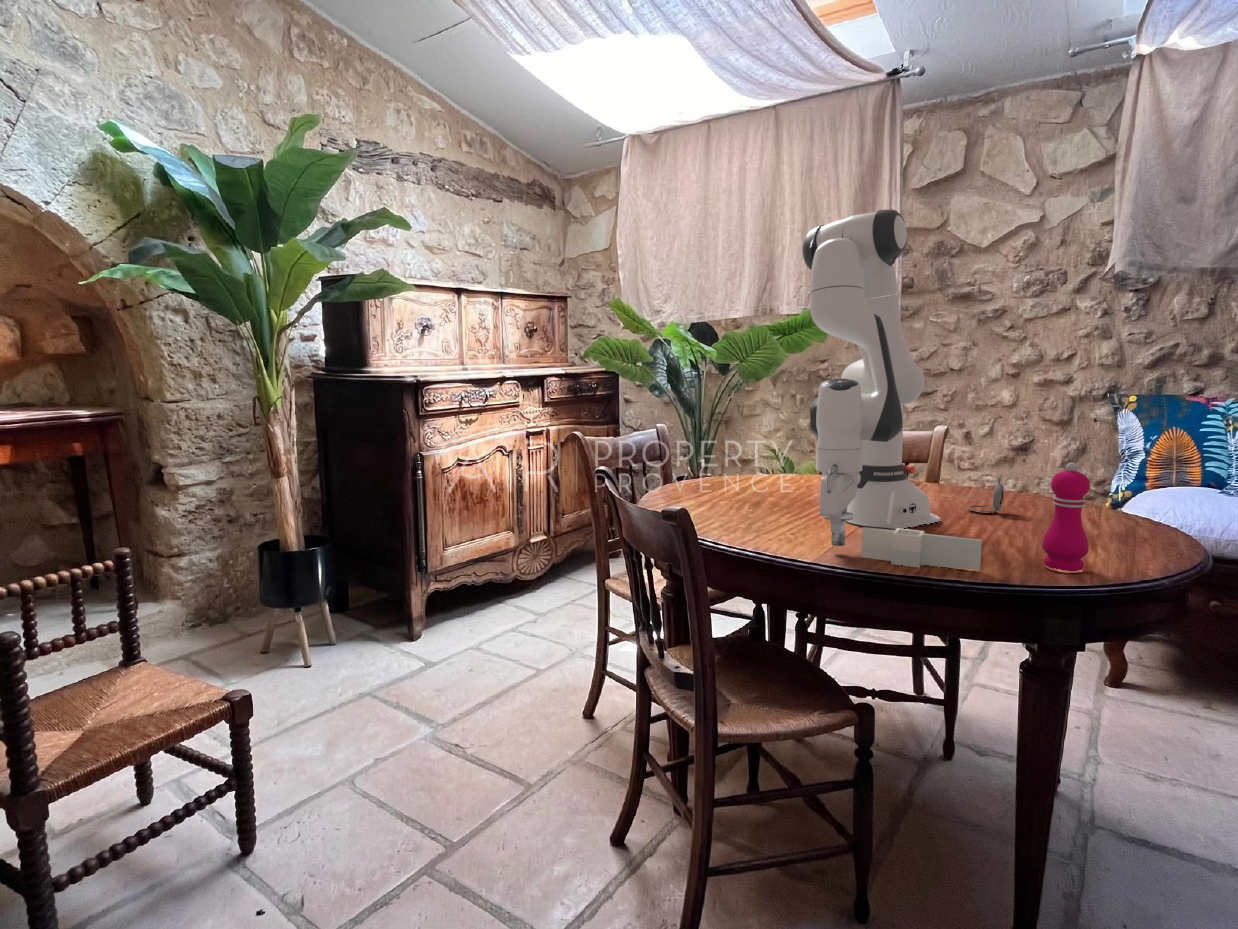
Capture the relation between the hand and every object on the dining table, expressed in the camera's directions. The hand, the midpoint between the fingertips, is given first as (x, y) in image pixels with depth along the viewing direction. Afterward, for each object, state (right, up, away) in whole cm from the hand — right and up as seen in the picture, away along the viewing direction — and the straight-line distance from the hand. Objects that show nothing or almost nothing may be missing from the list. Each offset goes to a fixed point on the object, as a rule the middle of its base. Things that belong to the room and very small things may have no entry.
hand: (838, 529), depth 141 cm
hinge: (+13, -6, -7) cm, 16 cm away
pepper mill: (+38, -7, -12) cm, 40 cm away
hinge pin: (0, -3, 0) cm, 3 cm away
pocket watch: (+49, +1, +35) cm, 60 cm away
